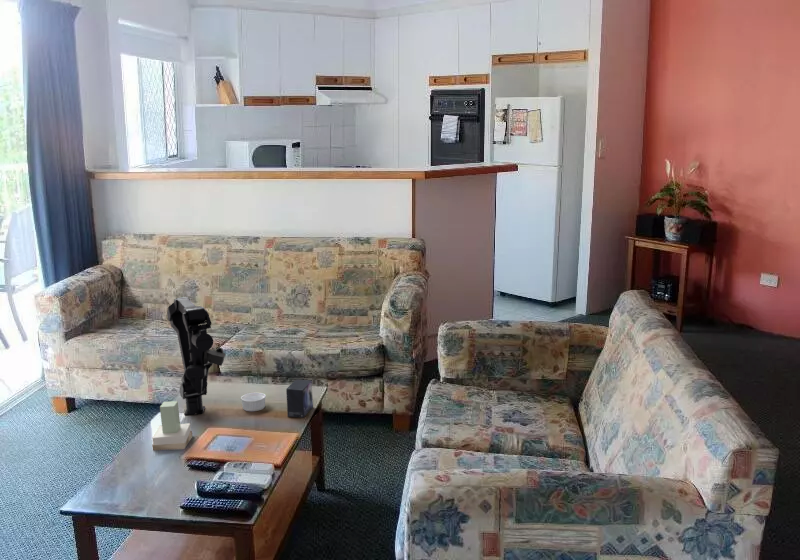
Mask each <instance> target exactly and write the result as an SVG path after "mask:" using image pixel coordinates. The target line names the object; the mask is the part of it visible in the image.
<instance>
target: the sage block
mask: <svg viewBox="0 0 800 560" xmlns="http://www.w3.org/2000/svg"><path fill="white" fill-rule="evenodd" d="M159 413H160V418H161V419H160V420H161V425H162V431H163V433H177V432H178V430H179V429H180V427H181V426H180V424H181V418H180V410H179V401H178V400H177V401H176V400H175V401H174V400H173V401H163V402H162V404H161V405H160V406H159Z"/></svg>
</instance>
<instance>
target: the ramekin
mask: <svg viewBox="0 0 800 560" xmlns="http://www.w3.org/2000/svg"><path fill="white" fill-rule="evenodd" d="M266 397H267V396H266V394H265V393H263V392H255V391H254V392H250V393H249V392H248V393H245V394H243V395H242V396H240V400H241V401H240V402H241V404H242V405H241V407H242V409H243V410H244V411H246V412H257V411H261V410H263V409H264V408H265V407H266Z"/></svg>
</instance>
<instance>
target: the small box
mask: <svg viewBox="0 0 800 560" xmlns="http://www.w3.org/2000/svg"><path fill="white" fill-rule="evenodd" d="M312 383H313V381H312V380H309V379H297V378H296V379H295V380H294V381H293V382H292V383H291V384H290V385H289V386H288V387H286V407H287V408H286V409H287V413H286V414H287V417H288V418H300V419H301V418H302V419H303V418H305V417H306V416H307V414H308V413H309V412H310V411H311V410H312V409H313V407H314V403H313V402H314V400H313V384H312Z"/></svg>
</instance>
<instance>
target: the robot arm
mask: <svg viewBox="0 0 800 560" xmlns="http://www.w3.org/2000/svg"><path fill="white" fill-rule="evenodd" d="M166 316H167V321H168V322H169V323H170V327H171V328H172V329H173V330H174V331H175V332H176V334H177V335H176V336H177V339H178V341H177V342H178V344H179V349H180V354H181V362H182V364H183V365H182V366H183V374H182V376H181V382H180V386H179V395H180V398H182V399H183V400H185V407H186V409H185V411H184V415H185V416H189V415H190V416H191V415H202V414H204V411H205V410H206V406H205V405H203V396H206V395H207V394H208V379H209V371H210V369H211V367H212V366H213V365H217V366H219V367H221V366H223V364H224V362H225V357H226V352H225V351H224V349H223V348H222V347H217V348H216V349H211V348H212V347H213V345H214V338H213V337H212V336H211V334H209V333H208V330H209V329H211V328H212V327H211V325H212V320H211V317H210V313H209V312H208V311H207V309H205V307H203V306H201V305H198V306H197V305H195V304H194V303H193V302H192V301H191V299H190V297H189V296H183V297H176V298H174V300H173V302H172V303H171V304H170V305H169V306H168V307H167V313H166ZM204 409H205V410H204Z"/></svg>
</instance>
